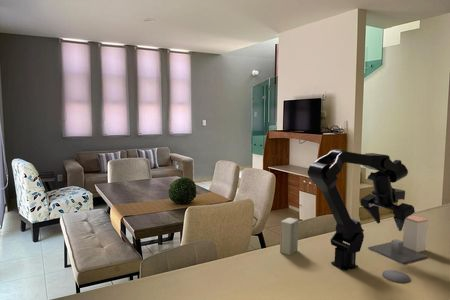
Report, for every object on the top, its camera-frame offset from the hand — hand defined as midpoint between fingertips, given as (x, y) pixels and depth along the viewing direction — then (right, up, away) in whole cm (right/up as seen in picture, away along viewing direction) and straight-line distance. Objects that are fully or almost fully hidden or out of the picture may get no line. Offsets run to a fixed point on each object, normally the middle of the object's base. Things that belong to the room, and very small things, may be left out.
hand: (389, 226), depth 127 cm
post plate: (+4, -11, +3) cm, 12 cm away
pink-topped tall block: (+13, -10, +7) cm, 18 cm away
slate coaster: (-5, -13, -16) cm, 21 cm away
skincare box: (-36, -10, +4) cm, 38 cm away
